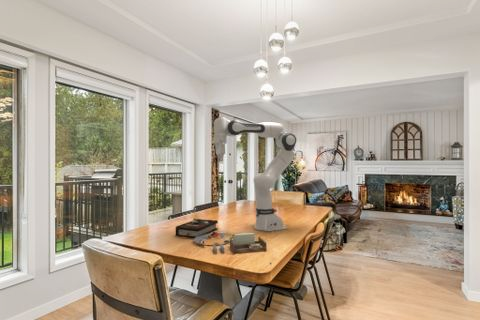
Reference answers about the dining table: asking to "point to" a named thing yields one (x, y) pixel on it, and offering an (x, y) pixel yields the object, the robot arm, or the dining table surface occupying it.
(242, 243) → the board
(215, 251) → the stand
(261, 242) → the rack
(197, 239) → the food plate
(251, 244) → the offcut upper
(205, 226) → the decorative book
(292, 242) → the dining table surface
